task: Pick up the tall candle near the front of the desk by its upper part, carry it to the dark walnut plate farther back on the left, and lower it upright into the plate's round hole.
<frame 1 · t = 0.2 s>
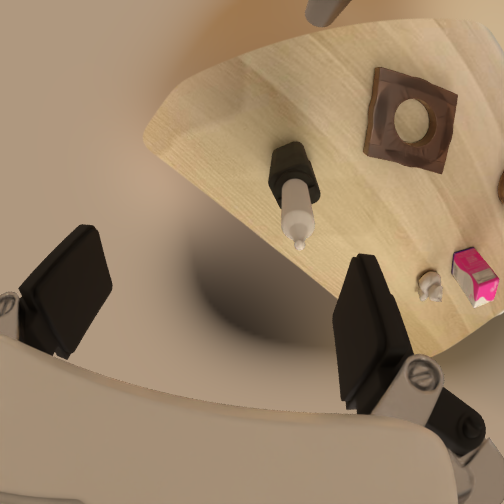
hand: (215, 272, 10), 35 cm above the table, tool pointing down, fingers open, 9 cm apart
white animal figurine: (425, 278, 51), on the table
supplement box: (462, 259, 48), on the table
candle: (291, 159, 42), on the table
hole plate: (409, 120, 35), on the table
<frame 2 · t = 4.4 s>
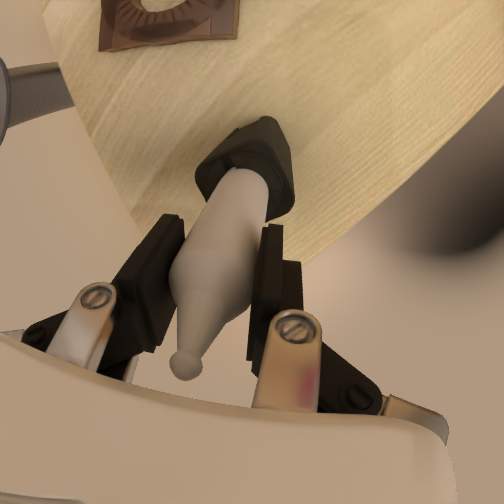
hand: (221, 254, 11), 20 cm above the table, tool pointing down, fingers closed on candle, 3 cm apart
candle: (260, 144, 27), on the table, touching gripper
when the fingers open (20 cm above the table, at t = 11.1 s): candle stays where it is, resting in hole plate.
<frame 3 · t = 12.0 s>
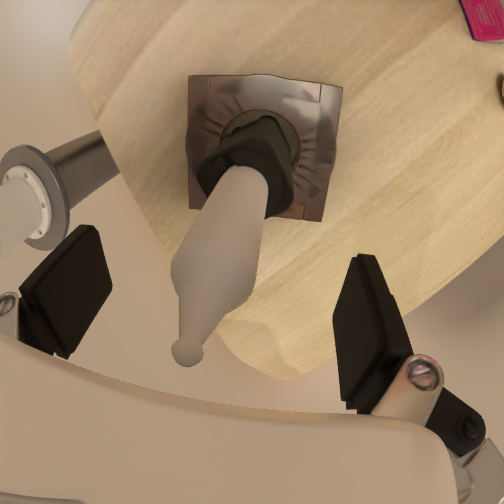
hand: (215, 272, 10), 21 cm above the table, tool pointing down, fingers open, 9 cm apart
supplement box: (480, 20, 14), on the table
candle: (260, 143, 27), resting in hole plate
hole plate: (261, 143, 27), on the table
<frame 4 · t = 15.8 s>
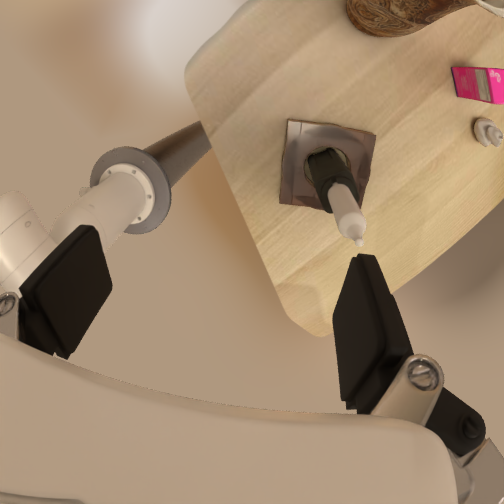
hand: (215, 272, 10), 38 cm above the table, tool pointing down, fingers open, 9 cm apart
white animal figurine: (480, 130, 35), on the table
supplement box: (464, 81, 31), on the table
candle: (324, 164, 44), resting in hole plate
hole plate: (325, 164, 44), on the table
vase: (372, 15, 29), on the table
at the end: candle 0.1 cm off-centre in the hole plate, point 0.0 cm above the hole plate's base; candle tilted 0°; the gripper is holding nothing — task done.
